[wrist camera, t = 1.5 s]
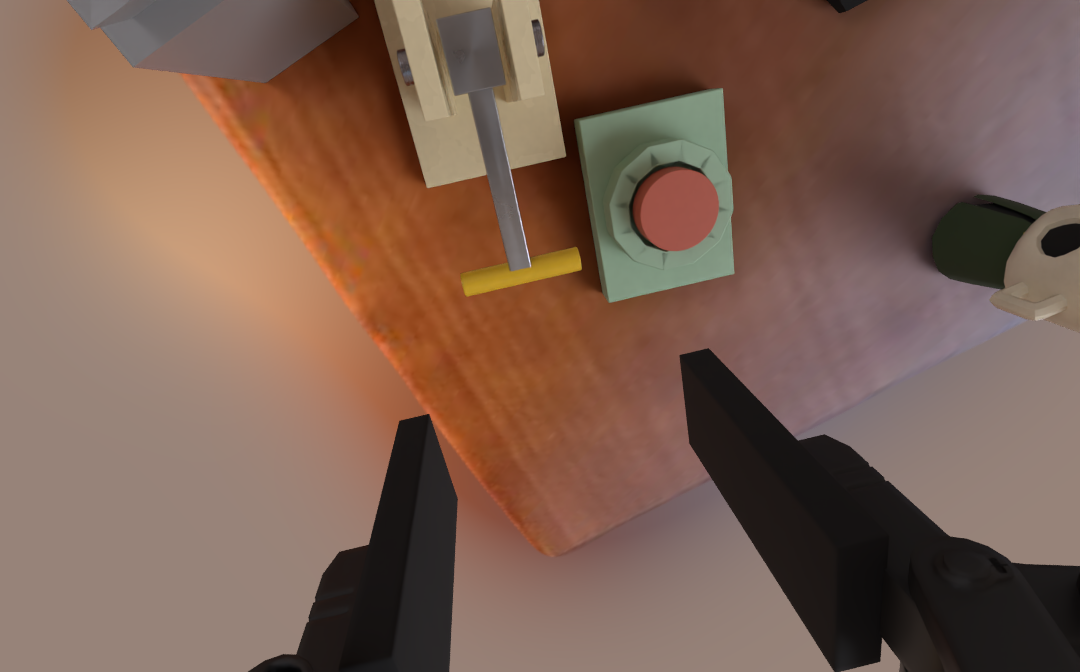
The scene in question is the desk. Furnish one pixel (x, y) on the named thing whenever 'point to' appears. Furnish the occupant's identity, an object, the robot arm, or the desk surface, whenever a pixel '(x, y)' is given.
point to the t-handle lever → (494, 151)
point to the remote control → (845, 4)
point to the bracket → (447, 119)
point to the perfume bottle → (216, 33)
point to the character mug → (1015, 256)
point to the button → (675, 208)
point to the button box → (622, 166)
